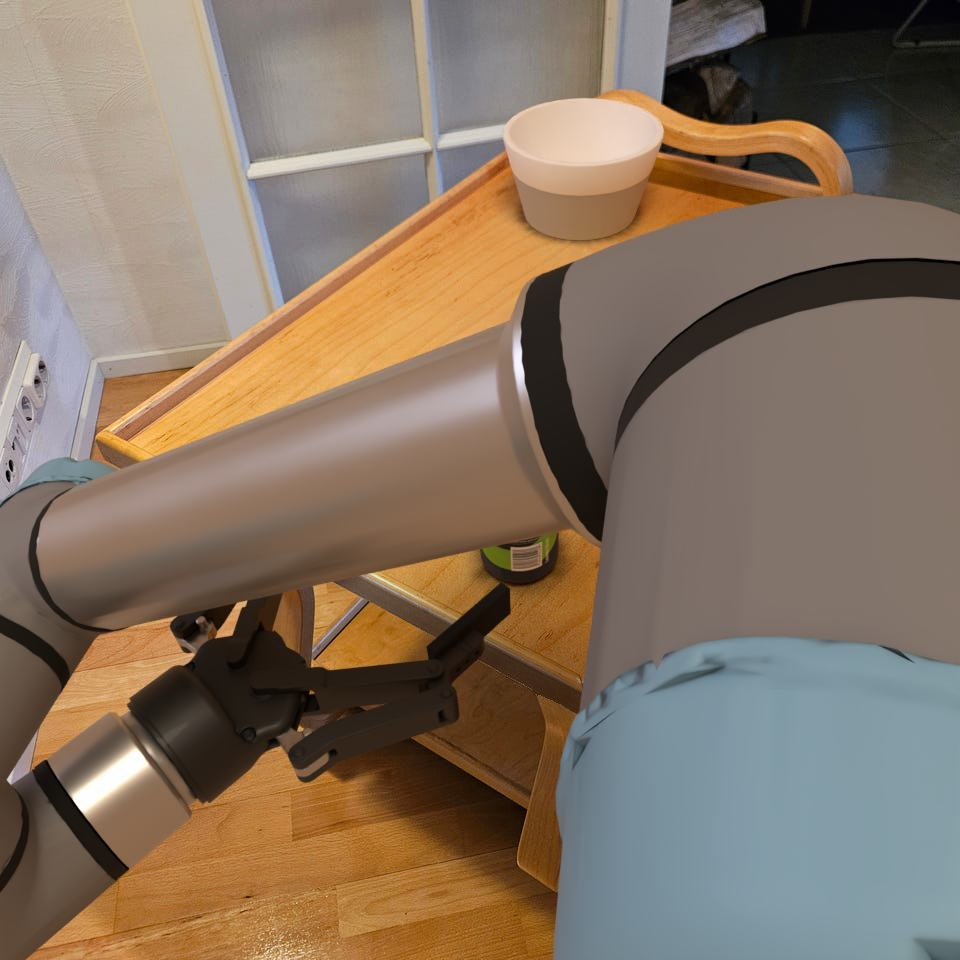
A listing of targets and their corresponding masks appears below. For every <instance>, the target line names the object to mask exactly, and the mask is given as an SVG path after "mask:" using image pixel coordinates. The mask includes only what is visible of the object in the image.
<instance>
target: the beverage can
mask: <svg viewBox="0 0 960 960" xmlns="http://www.w3.org/2000/svg"><path fill="white" fill-rule="evenodd" d="M559 534H560V532H556V533H552V534H547V535H543V536H538V537H534V538H529V539H525V540H520V541H516V542H511V543H506V544H502V545H497V546H493V547H488V548H484V549H479V550H480V557H481V561H482V564H483V565H484V567H485V569H486V570H487V571H488V572H489V573H490V574H492V575H493V576H494V577H496V578H497V579H500V580H502V581H505V582H507V583H511V584H526V583H531V582H534V581H537V580H539V579H541V578H543V577H544V576H546V575H547V574H548V573H550V571H551V570H552V569H553V568H554V567H555V566H556V563H557V561H558V557H559V538H560V537H559Z"/></svg>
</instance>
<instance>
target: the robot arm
mask: <svg viewBox="0 0 960 960" xmlns="http://www.w3.org/2000/svg"><path fill="white" fill-rule="evenodd" d="M569 530H570V531H571V530H572V531H574V532H575V533H576V534H578V536H580V537H582V538H583V539H584V540H586V541H587V542H588V543H590V544H592V545H593V546H595V547H597V548H599V549H600V553H599V561H598V569H597V575H596V576H597V577H596V584H595V594H594V598H593V601H594V602H593V606H592V615H591V623H590V631H589V639H588V646H587V651H586V652H587V653H586V659H585V667H584V674H583V681H582V689H581V694H580V695H581V697H580V702H579V704H580V705H579V710H578V713H577V714H576V715H575V717H574V719H573V721H572V723H571V725H570V727H569V730H568V733H567V736H566V739H565V742H564V746H563V750H562V753H561V758H560V763H559V765H560V766H559V773H558V779H557V784H556V789H555V813H556V817H557V822H558V828H559V835H560V839H561V843H562V844H561V857H560V868H559V879H558V890H557V900H556V901H557V902H556V913H555V922H554V923H555V924H554V935H553V936H554V937H553V947H552V948H553V951H552V952H553V953H552V954H553V955H552V960H960V214H959V213H956V212H954V211H951V210H947V209H945V208H941V207H938V206H935V205H931V204H927V203H924V202H921V201H914V200H913V201H912V200H904V199H897V198H890V197H884V196H883V197H882V196H876V195H875V196H874V195H867V194H851V195H850V194H847V195H824V196H823V195H821V196H801V197H799V196H797V197H789V198H782V199H777V200H772V201H771V200H770V201H767V202H760V203H754V204H749V205H744V206H738V207H733V208H727V209H724V210H718V211H715V212H712V213H708V214H705V215H701V216H697V217H693V218H690V219H685V220H683V221H678V222H676V223H673V224H669V225H667V226H664V227H661V228H658V229H656V230H652V231H649V232H646V233H644V234H640V235H638V236H635V237H632V238H629V239H626V240H624V241H620V242H618V243H614V244H612V245H610V246H607V247H605V248H603V249H601V250H598V251H596V252H593V253H590V254H588V255H586V256H584V257H582V258H578V259H576V260H574V261H571V262H569V263H566V264H563V265H561V266H559V267H556V268H553V269H552V270H549V271H547V272H543V273H541V274H538V275H537V276H534V277H532V278H531V279H530V280H528V281H526V282H525V284H524V285H523V287H522V289H520V292H519V294H518V297H517V300H516V303H515V304H514V308H513V309H512V312H511V315H510V318H509V320H507V321H504V322H501V323H499V324H497V325H494V326H492V327H491V326H490V327H489V328H486V329H484V330H481V331H478V332H476V333H473V334H470V335H468V336H465V337H462V338H460V339H458V340H455V341H452V342H449V343H447V344H444V345H442V346H439V347H437V348H433V349H431V350H429V351H426V352H424V353H423V352H422V353H421V354H418V355H415V356H413V357H410V358H407V359H405V360H403V361H400V362H396V363H394V364H392V365H389V366H387V367H384V368H382V369H381V368H380V369H379V370H376V371H373V372H371V373H369V374H366V375H363V376H360V377H358V378H355V379H352V380H350V381H348V382H345V383H343V384H339V385H337V386H334V387H332V388H329V389H326V390H324V391H321V392H319V393H315V394H313V395H311V396H308V397H306V398H303V399H300V400H298V401H295V402H292V403H290V404H288V405H284V406H282V407H280V408H276V409H274V410H271V411H269V412H267V413H264V414H262V415H261V414H260V415H259V416H256V417H254V418H251V419H248V420H245V421H242V422H240V423H238V424H236V425H232V426H230V427H228V428H224V429H222V430H219V431H217V432H214V433H212V434H209V435H206V436H203V437H202V438H201V437H200V438H199V439H195V440H193V441H190V442H188V443H186V444H185V443H184V444H183V445H180V446H178V447H174V448H172V449H170V450H167V451H165V452H162V453H159V454H157V455H154V456H151V457H148V458H147V459H143V460H141V461H138V462H136V463H132V464H130V465H128V466H125V467H123V468H120V469H117V468H115V467H113V466H111V465H108V464H106V463H103V462H101V461H98V460H94V459H90V458H86V459H82V460H80V461H79V460H77V459H75V458H73V457H70V456H64V457H57V458H52V459H50V460H47V461H46V462H43V463H41V464H40V465H39V466H37V467H36V468H35V469H34V470H33V471H32V472H31V473H30V474H29V476H27V478H26V479H25V480H24V481H23V482H21V484H19V486H18V487H17V488H16V489H15V490H12V492H10V493H9V494H7V495H6V496H5V497H4V498H3V499H2V500H1V501H0V960H28V959H29V957H30V956H32V955H33V954H34V953H35V952H37V950H39V949H40V948H41V947H43V945H44V944H46V943H47V942H49V940H51V938H53V937H54V936H55V935H56V934H57V933H59V932H60V931H61V930H62V929H63V928H65V927H66V926H67V925H68V924H69V923H71V922H72V920H73V919H75V918H76V917H77V916H79V914H80V913H82V912H83V911H84V910H86V909H87V907H89V906H90V905H91V904H92V903H94V901H96V900H97V899H98V898H100V896H102V895H103V894H104V893H105V892H107V890H109V889H110V888H111V887H112V886H113V885H114V884H115V883H117V882H118V881H119V879H120V878H121V877H122V876H124V875H125V874H127V873H128V872H129V871H130V870H132V869H133V868H134V867H135V866H136V865H137V864H139V863H140V862H141V861H142V860H143V859H145V858H146V857H147V856H148V855H149V854H150V853H152V852H153V851H154V850H155V849H156V848H158V847H159V846H160V845H161V844H163V843H164V842H165V841H166V840H167V839H169V838H170V837H171V836H172V835H173V834H175V832H177V831H178V830H179V829H180V828H181V827H183V826H184V825H185V824H186V823H187V822H189V821H190V820H191V819H192V814H193V811H192V809H191V808H190V806H191V805H192V804H193V803H194V802H196V801H197V800H198V802H199V803H201V805H204V804H205V803H208V804H211V803H212V802H214V801H215V800H216V799H218V797H219V796H221V794H223V793H224V792H225V791H227V789H229V788H230V787H231V786H232V785H234V784H235V783H236V782H237V781H238V780H240V779H241V778H242V777H243V776H244V775H246V774H247V773H249V771H250V770H251V769H252V768H253V767H254V766H255V764H256V763H257V762H258V760H259V759H260V758H261V757H262V756H263V755H264V754H265V753H268V752H269V751H271V750H274V749H277V748H281V749H282V751H283V752H284V753H285V755H286V756H287V758H288V760H289V762H290V765H291V767H292V768H293V769H292V770H293V771H294V773H295V776H296V778H297V779H298V781H299V782H301V783H304V784H308V783H311V782H313V781H315V780H316V779H318V778H319V777H320V776H321V775H323V774H324V773H326V772H327V771H328V770H330V769H331V768H333V767H334V766H335V765H337V764H338V763H341V762H343V761H346V760H349V759H353V758H355V757H358V756H361V755H364V754H367V753H370V752H373V751H376V750H379V749H381V748H384V747H387V746H391V745H394V744H396V743H399V742H403V741H406V740H408V739H411V738H415V737H417V736H421V735H423V734H427V733H429V732H432V731H435V730H438V729H441V728H443V727H447V726H450V725H452V724H456V722H458V720H459V719H460V706H459V698H458V692H457V689H456V688H455V687H454V686H453V683H454V682H455V681H456V680H457V679H458V678H459V677H461V675H462V674H464V673H465V672H466V671H468V669H469V668H470V667H471V666H472V665H473V664H475V662H477V661H478V660H479V659H480V658H481V657H482V656H483V654H484V652H485V650H486V646H485V644H486V643H485V637H486V636H487V635H489V634H490V633H491V632H492V631H493V630H494V629H495V628H497V626H499V625H500V624H501V623H502V622H503V621H504V620H505V619H506V618H507V617H508V616H510V615H511V614H512V608H511V607H512V606H511V604H512V603H511V588H510V587H509V586H507V585H506V584H505V583H503V582H502V581H501V582H499V583H498V584H497V585H496V586H494V587H493V588H492V590H490V591H489V592H488V593H486V595H484V596H483V597H482V598H481V599H480V600H478V601H477V602H476V603H475V604H474V605H472V606H471V608H469V609H468V610H467V611H466V612H465V613H463V614H462V615H461V616H460V617H459V618H457V619H456V620H455V621H454V622H453V623H451V625H450V626H449V627H447V628H446V629H445V630H443V631H442V632H441V633H440V634H439V635H438V636H436V638H434V639H433V640H432V641H431V642H430V643H429V644H427V645H426V646H425V647H426V654H427V659H424V660H413V661H404V662H394V663H385V664H376V665H365V666H356V667H347V668H338V669H337V668H336V669H327V668H325V667H323V666H311V667H308V665H307V661H306V659H305V658H304V657H303V656H302V655H301V654H300V653H299V652H298V651H296V650H294V649H292V648H290V647H288V646H287V644H286V642H285V641H284V638H283V636H281V634H279V632H277V631H276V630H275V629H274V626H275V623H276V619H277V615H278V612H279V608H280V605H281V602H282V598H283V595H284V593H289V592H292V591H293V592H294V591H298V590H301V589H302V590H303V589H306V588H311V587H315V586H321V585H324V584H328V583H334V582H338V581H343V580H348V579H351V578H356V577H361V576H366V575H370V574H374V573H379V572H383V571H388V570H392V569H397V568H402V567H406V566H411V565H416V564H420V563H424V562H428V561H433V560H438V559H443V558H446V557H452V556H456V555H461V554H465V553H469V552H474V551H478V550H480V549H484V548H488V547H493V546H497V545H502V544H506V543H511V542H516V541H520V540H525V539H529V538H534V537H538V536H543V535H547V534H552V533H556V532H559V533H561V532H565V531H569ZM243 602H246V604H245V606H242V607H241V609H240V611H239V614H238V617H237V620H236V623H235V626H234V629H233V631H232V632H233V633H232V635H227V636H221V637H217V635H218V631H219V630H220V629H221V628H222V627H223V625H224V624H225V623H226V622H227V619H228V618H229V617H230V615H231V613H232V612H233V610H234V609H235V607H236V605H237V604H238V603H243ZM170 618H173V619H172V620H171V621H170V623H169V630H170V632H171V633H172V635H173V637H174V638H175V640H176V642H177V644H178V646H179V648H180V649H181V651H182V652H183V653H185V654H194V655H193V657H192V658H191V659H190V661H189V662H187V663H186V664H175V665H172V666H171V667H170V668H168V669H166V670H165V671H164V672H162V673H161V674H160V675H159V676H157V677H156V678H155V679H153V680H151V681H150V682H149V683H148V684H146V685H145V686H144V687H143V688H141V689H140V690H138V691H137V692H135V693H133V695H131V696H130V697H129V698H128V699H129V702H128V703H126V707H127V709H128V710H129V711H126V712H125V713H124V714H122V715H119V714H118V713H117V712H115V711H114V712H113V711H108V712H106V713H105V714H104V715H103V716H101V717H100V718H99V719H97V720H95V722H93V723H92V724H90V725H89V726H88V727H87V728H85V729H84V730H83V731H81V732H80V733H79V734H77V735H76V736H74V737H73V738H72V739H71V740H69V741H68V742H67V743H65V744H64V745H63V746H61V747H60V748H59V749H57V750H56V751H55V752H53V753H52V754H51V755H49V756H48V757H47V758H46V759H43V760H42V761H40V762H39V763H38V764H37V765H35V766H34V768H31V770H30V771H29V772H27V773H26V774H25V775H23V776H22V777H20V778H19V779H18V780H15V782H13V783H12V784H11V783H10V782H9V781H8V779H9V777H10V776H11V774H12V772H13V770H14V769H15V767H16V766H17V764H18V763H19V761H20V760H21V758H22V756H23V754H24V753H25V751H26V750H27V748H28V746H29V745H30V744H31V742H32V740H33V739H34V737H35V735H36V734H37V732H38V731H39V729H40V728H41V725H43V722H44V721H45V719H46V718H47V716H48V714H49V713H50V711H51V710H52V708H53V706H54V705H55V703H56V702H57V700H58V698H59V697H60V695H61V694H62V692H63V691H64V689H65V688H66V686H67V684H68V683H69V681H70V680H71V677H72V676H73V674H74V673H75V672H76V670H77V669H78V667H79V665H80V663H81V662H82V661H83V659H84V657H85V655H86V654H87V652H88V651H89V650H90V648H91V646H92V645H93V643H94V642H95V640H96V639H97V638H98V637H99V636H102V635H105V634H109V633H114V632H119V631H124V630H126V629H128V628H131V627H134V626H138V625H143V624H147V623H152V622H157V621H161V620H165V619H166V620H167V619H170ZM273 629H274V630H273ZM311 692H313V693H311ZM378 705H379V706H378ZM366 706H376V707H372V708H369V709H367V710H363V711H360V712H358V713H355V714H352V715H351V714H350V715H348V716H346V717H343V718H340V719H336V720H334V721H331V722H328V723H326V724H324V725H322V726H320V727H318V728H313V727H311V726H310V727H308V726H307V727H305V728H303V729H302V731H300V730H299V727H300V724H301V721H302V718H305V717H313V716H314V717H315V716H322V715H323V716H324V715H330V714H332V713H333V712H334V711H336V710H338V709H348V708H349V709H350V708H356V707H357V708H358V707H366Z"/></svg>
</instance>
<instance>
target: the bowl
mask: <svg viewBox="0 0 960 960" xmlns="http://www.w3.org/2000/svg"><path fill="white" fill-rule="evenodd" d="M664 138H665V128H664V125H663V123H662V121H661V120H660V119H659V118H658V117H657V116H656V115H655V114H653V113H652V112H651V111H649V110H647V109H645V108H643V107H641V106H638V105H636V104H632V103H629V102H625V101H620V100H615V99H607V98H595V97H594V98H593V97H582V98H581V97H580V98H579V97H577V98H566V99H558V100H552V101H547V102H542V103H540V104H536V105H533V106H530V107H528V108H525V109H524V110H521V111H520V112H517V113H516V114H515V115H513V116H512V117H510V119H509V120H508V121H507V122H506V123H505V126H504V128H503V129H502V140H503V144H504V148H505V151H506V152H505V153H506V155H507V159H508V161H509V166H510V168H511V172H512V175H513V178H514V182H515V185H516V190H517V194H518V196H519V200H520V203H521V207H522V211H523V215H524V217H525V220H526V221H527V224H528V225H529V226H531V228H533V229H534V230H536V231H537V232H539V233H541V234H543V235H545V236H548V237H551V238H555V239H561V240H565V241H593V240H599V239H603V238H608V237H611V236H614V235H617V234H619V233H620V232H622V231H624V230H626V228H628V227H629V226H631V224H632V222H633V220H634V219H635V217H636V214H637V212H638V208H639V206H640V203H641V200H642V198H643V195H644V192H645V190H646V187H647V184H648V182H649V178H650V175H651V173H652V170H653V168H654V166H655V163H656V160H657V158H658V154H659V152H660V150H661V147H662V144H663V142H664Z"/></svg>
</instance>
